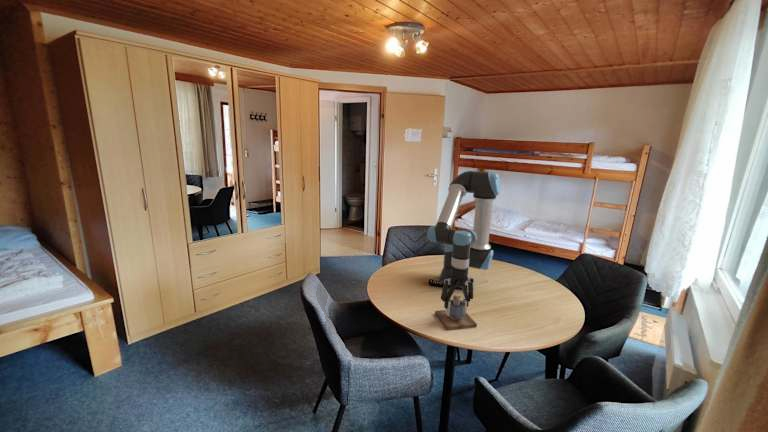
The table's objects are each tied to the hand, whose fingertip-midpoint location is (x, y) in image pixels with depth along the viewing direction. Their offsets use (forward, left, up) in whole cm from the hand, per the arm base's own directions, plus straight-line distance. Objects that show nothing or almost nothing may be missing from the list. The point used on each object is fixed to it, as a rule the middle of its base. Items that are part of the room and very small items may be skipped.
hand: (455, 313), depth 148 cm
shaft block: (0, 0, -3) cm, 3 cm away
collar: (0, 0, 0) cm, 0 cm away
